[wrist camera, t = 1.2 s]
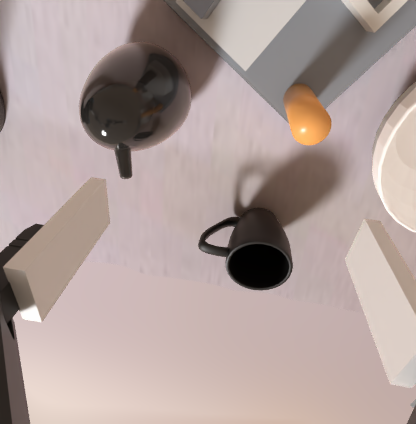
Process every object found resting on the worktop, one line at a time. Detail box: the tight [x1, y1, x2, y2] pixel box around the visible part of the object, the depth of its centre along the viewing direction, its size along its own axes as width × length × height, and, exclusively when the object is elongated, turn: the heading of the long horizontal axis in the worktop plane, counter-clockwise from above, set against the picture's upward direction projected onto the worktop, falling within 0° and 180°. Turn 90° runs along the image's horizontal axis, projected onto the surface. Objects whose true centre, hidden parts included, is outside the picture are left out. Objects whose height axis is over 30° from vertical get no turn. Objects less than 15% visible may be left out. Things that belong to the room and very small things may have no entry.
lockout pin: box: [283, 84, 331, 145], centre depth 30 cm, size 3×3×10 cm
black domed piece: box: [79, 42, 191, 179], centre depth 30 cm, size 10×10×15 cm
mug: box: [198, 208, 293, 290], centre depth 41 cm, size 8×12×10 cm
